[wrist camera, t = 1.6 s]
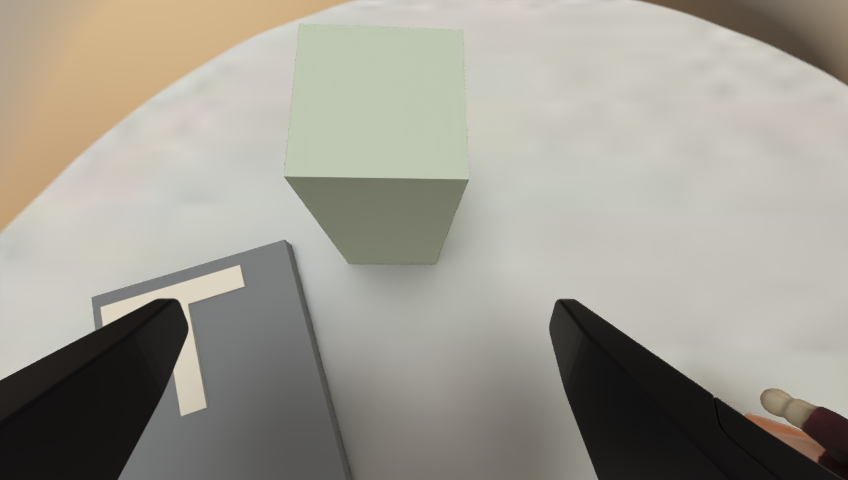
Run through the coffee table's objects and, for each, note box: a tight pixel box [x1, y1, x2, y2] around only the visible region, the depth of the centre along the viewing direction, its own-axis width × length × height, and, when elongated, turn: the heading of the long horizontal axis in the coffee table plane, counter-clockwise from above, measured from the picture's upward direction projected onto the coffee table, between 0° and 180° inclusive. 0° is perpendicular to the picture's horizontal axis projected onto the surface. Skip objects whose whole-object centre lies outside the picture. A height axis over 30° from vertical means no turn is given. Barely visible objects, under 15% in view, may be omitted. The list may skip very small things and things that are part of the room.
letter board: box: [92, 240, 352, 480], centre depth 19 cm, size 13×10×1 cm
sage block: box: [284, 24, 469, 264], centre depth 17 cm, size 5×5×12 cm
